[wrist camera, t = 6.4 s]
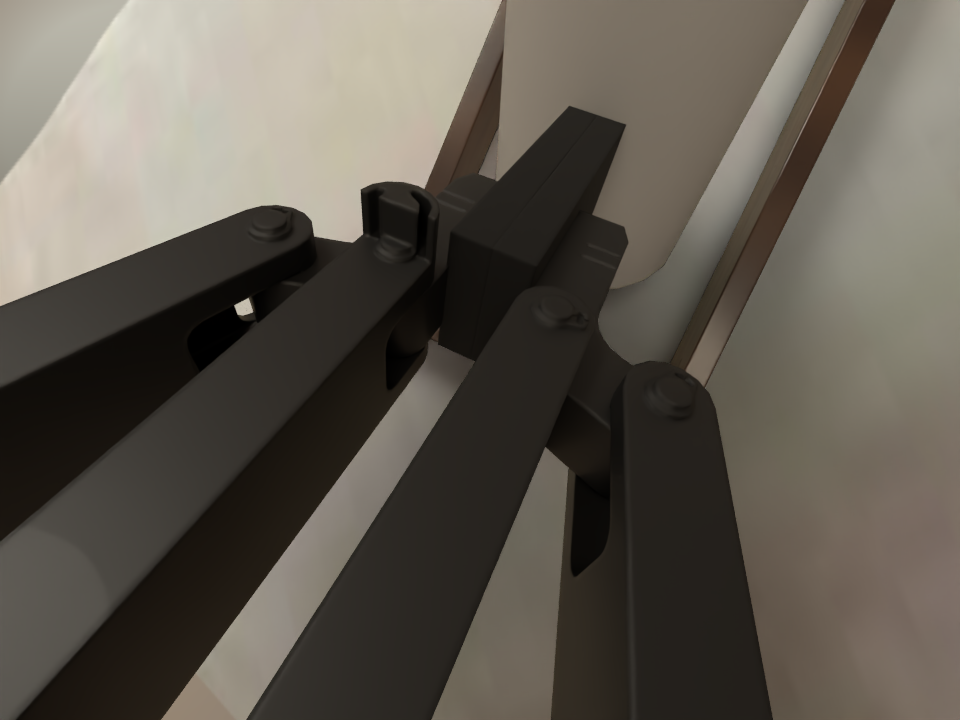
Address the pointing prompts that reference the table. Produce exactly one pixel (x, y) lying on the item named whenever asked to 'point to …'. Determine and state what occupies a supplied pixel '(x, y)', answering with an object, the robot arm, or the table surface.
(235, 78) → the table surface
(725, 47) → the can
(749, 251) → the walnut frame
